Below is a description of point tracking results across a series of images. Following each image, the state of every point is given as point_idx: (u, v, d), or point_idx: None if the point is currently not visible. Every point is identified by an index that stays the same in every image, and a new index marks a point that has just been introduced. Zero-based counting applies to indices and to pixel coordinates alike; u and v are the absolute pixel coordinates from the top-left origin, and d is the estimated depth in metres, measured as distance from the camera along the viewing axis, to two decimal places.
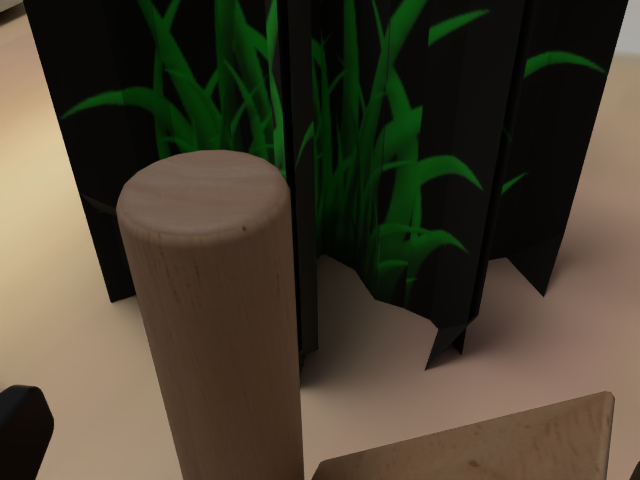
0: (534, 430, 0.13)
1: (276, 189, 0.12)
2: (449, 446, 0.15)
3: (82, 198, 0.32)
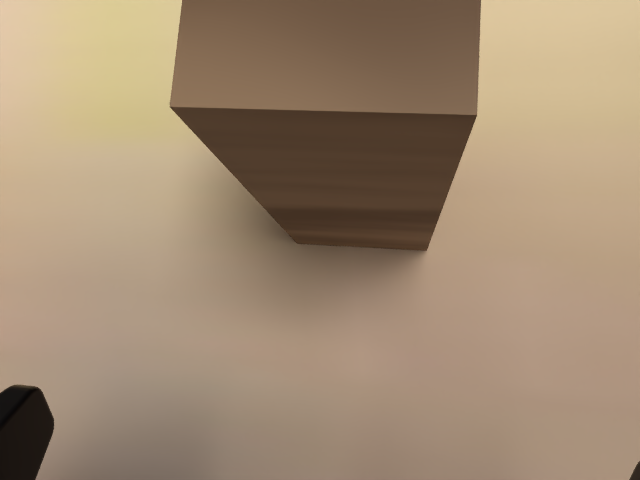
0: None
1: None
2: None
3: None
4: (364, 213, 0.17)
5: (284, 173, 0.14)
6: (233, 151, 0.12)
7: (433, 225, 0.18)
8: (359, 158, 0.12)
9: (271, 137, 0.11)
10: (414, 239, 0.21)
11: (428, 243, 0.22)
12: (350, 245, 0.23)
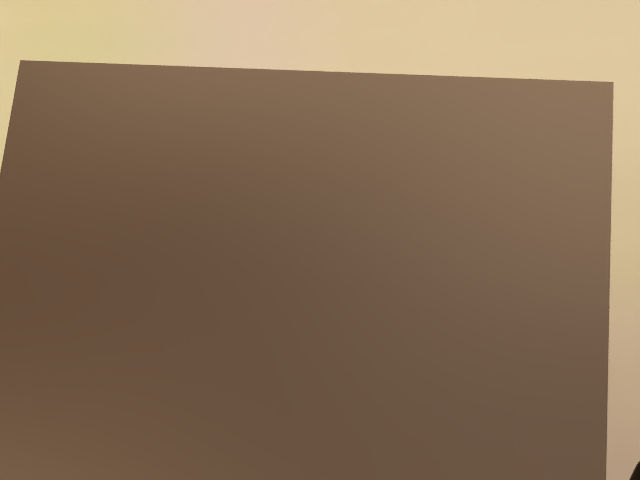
0: None
1: None
2: None
3: None
4: None
5: None
6: None
7: None
8: None
9: None
10: None
11: None
12: None
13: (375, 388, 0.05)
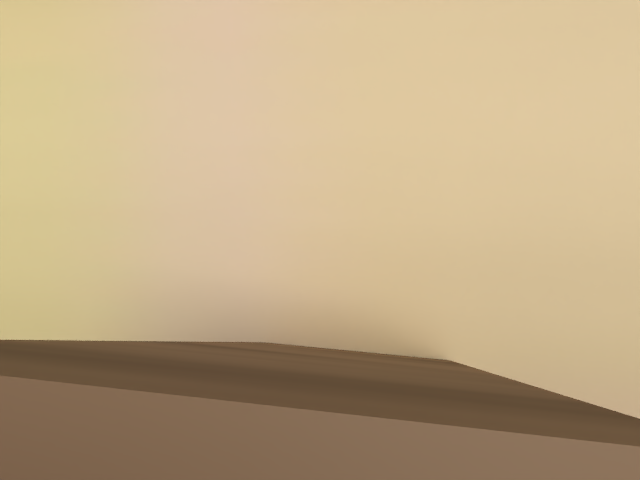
0: None
1: None
2: None
3: None
4: None
5: None
6: None
7: None
8: None
9: None
10: None
11: None
12: None
13: None
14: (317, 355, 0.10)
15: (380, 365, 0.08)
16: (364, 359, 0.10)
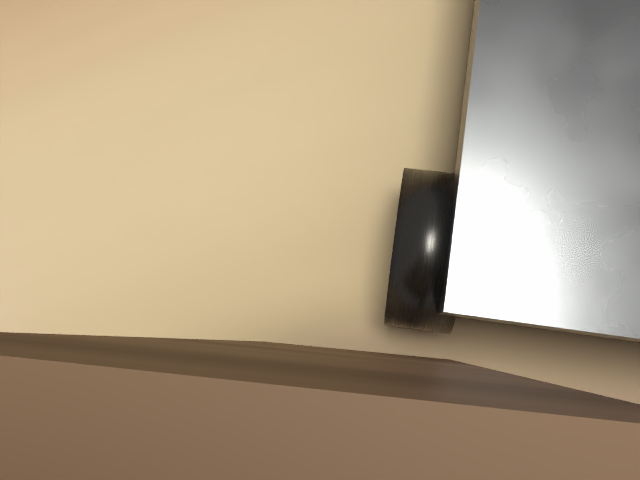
0: None
1: None
2: None
3: None
4: None
5: None
6: None
7: None
8: None
9: None
10: None
11: None
12: None
13: None
14: (319, 352, 0.10)
15: (383, 361, 0.08)
16: (366, 356, 0.10)
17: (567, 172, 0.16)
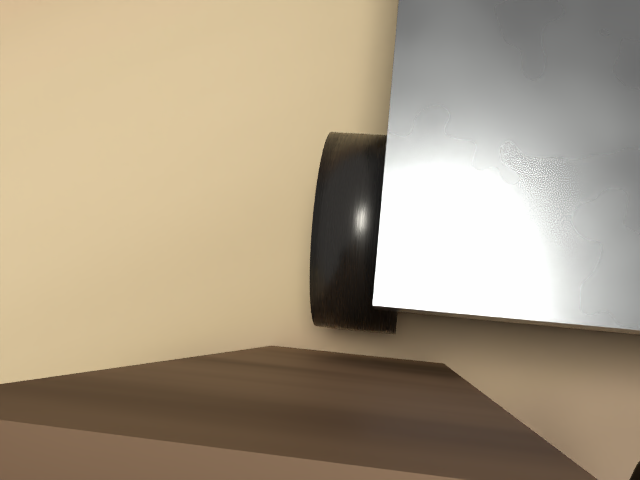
0: None
1: None
2: None
3: None
4: None
5: None
6: None
7: None
8: None
9: None
10: None
11: None
12: None
13: None
14: (322, 369, 0.11)
15: (377, 383, 0.09)
16: (364, 372, 0.11)
17: (525, 118, 0.12)
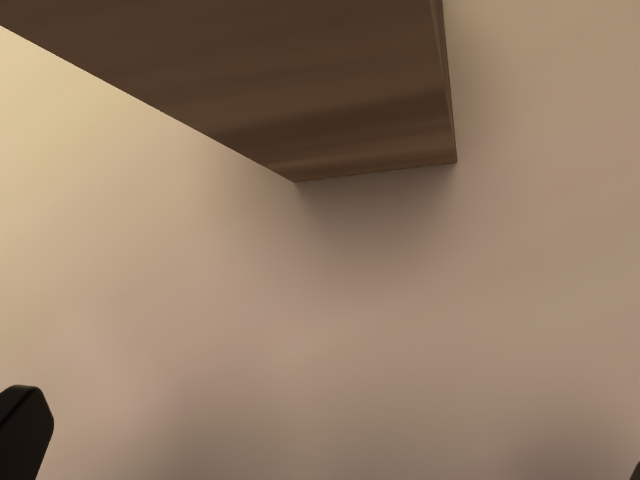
0: None
1: None
2: None
3: None
4: (341, 117, 0.12)
5: (174, 64, 0.09)
6: (57, 32, 0.08)
7: (446, 119, 0.13)
8: None
9: None
10: (432, 147, 0.16)
11: (454, 150, 0.16)
12: (358, 172, 0.18)
13: None
14: None
15: None
16: None
17: None
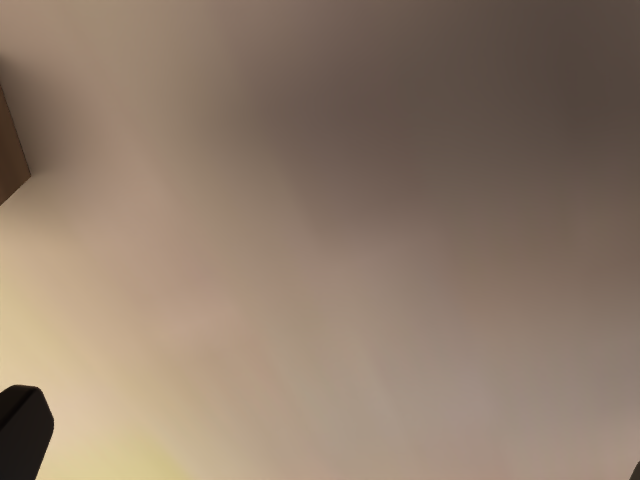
0: None
1: None
2: None
3: None
4: None
5: None
6: None
7: None
8: None
9: None
10: None
11: None
12: (11, 129, 0.22)
13: None
14: None
15: None
16: None
17: None
